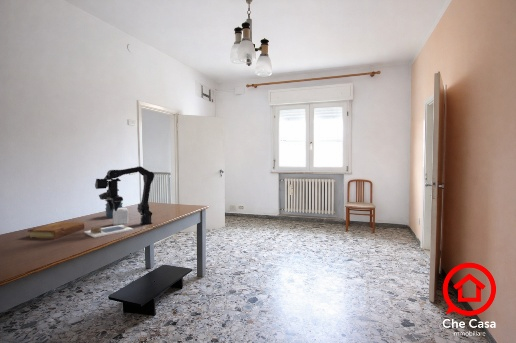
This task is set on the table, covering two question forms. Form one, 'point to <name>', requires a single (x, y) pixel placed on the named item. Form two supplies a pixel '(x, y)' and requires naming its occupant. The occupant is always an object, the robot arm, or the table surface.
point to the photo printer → (120, 216)
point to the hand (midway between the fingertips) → (113, 210)
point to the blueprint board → (107, 230)
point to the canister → (110, 212)
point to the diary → (56, 230)
